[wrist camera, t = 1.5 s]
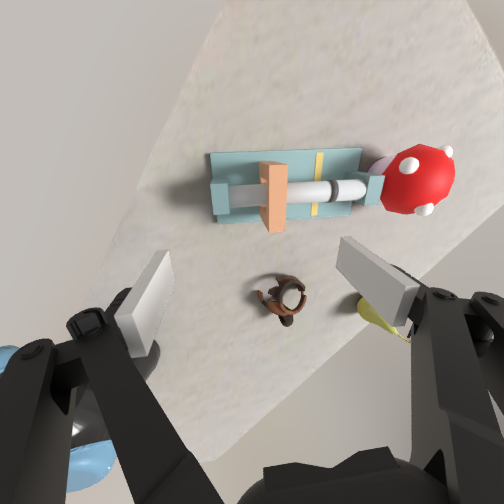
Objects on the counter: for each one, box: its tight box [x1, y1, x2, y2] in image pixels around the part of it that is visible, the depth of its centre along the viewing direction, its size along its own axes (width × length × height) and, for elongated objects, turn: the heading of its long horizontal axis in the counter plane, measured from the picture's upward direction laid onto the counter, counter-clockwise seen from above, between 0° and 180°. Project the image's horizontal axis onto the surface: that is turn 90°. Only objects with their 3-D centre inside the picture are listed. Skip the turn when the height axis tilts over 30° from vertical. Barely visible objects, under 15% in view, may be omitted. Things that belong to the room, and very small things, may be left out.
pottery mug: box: [258, 276, 306, 327], centre depth 47 cm, size 12×10×8 cm
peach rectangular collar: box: [259, 161, 288, 233], centre depth 33 cm, size 2×9×9 cm, turn 2°
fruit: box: [357, 297, 411, 343], centre depth 48 cm, size 7×8×12 cm
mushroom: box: [367, 144, 455, 216], centre depth 35 cm, size 11×11×12 cm
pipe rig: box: [210, 148, 385, 224], centre depth 35 cm, size 26×12×8 cm, turn 92°
